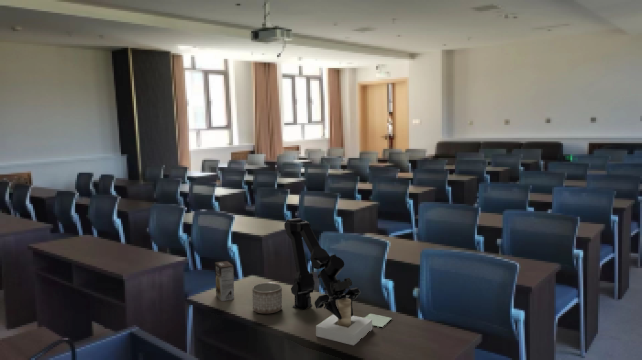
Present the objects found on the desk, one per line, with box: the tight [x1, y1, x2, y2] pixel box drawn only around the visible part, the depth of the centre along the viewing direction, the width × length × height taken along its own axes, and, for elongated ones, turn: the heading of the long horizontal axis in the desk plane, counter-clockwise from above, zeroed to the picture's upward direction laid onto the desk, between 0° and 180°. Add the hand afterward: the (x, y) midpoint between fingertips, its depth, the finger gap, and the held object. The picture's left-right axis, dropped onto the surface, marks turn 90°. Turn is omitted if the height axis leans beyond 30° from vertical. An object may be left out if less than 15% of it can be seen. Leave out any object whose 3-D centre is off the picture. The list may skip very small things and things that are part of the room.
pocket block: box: [315, 313, 373, 346], centre depth 189 cm, size 16×16×4 cm
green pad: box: [364, 313, 393, 328], centre depth 200 cm, size 10×10×1 cm
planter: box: [251, 282, 283, 314], centre depth 213 cm, size 13×13×10 cm
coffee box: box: [214, 260, 235, 302], centre depth 228 cm, size 9×6×16 cm
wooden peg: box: [337, 298, 351, 328], centre depth 189 cm, size 5×5×13 cm
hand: (346, 317), depth 188 cm, fingers closed on wooden peg, 5 cm apart
